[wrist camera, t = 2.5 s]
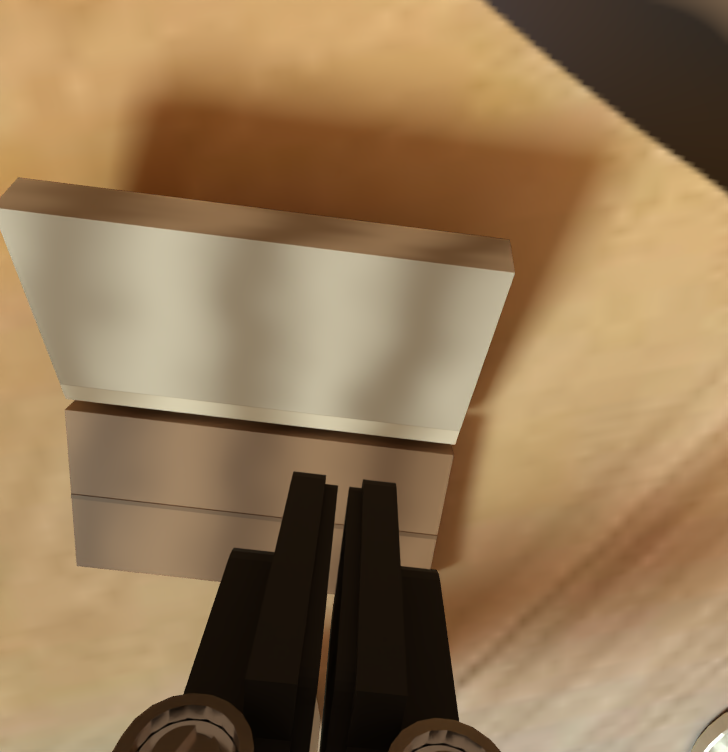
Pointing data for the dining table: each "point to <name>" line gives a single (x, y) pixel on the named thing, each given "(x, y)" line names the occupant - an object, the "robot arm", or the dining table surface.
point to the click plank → (256, 309)
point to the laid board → (227, 487)
